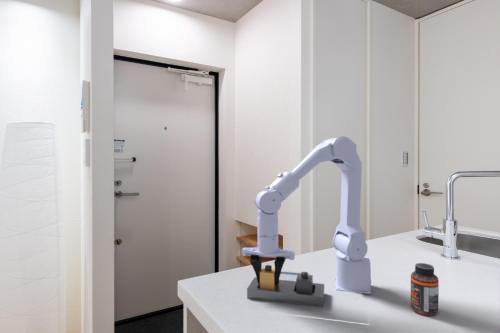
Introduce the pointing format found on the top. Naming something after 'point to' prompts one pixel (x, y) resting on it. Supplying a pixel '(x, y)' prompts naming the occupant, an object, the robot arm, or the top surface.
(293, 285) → the strip
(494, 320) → the top surface
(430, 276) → the supplement bottle
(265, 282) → the plug
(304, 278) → the grey block with knob
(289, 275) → the tray
